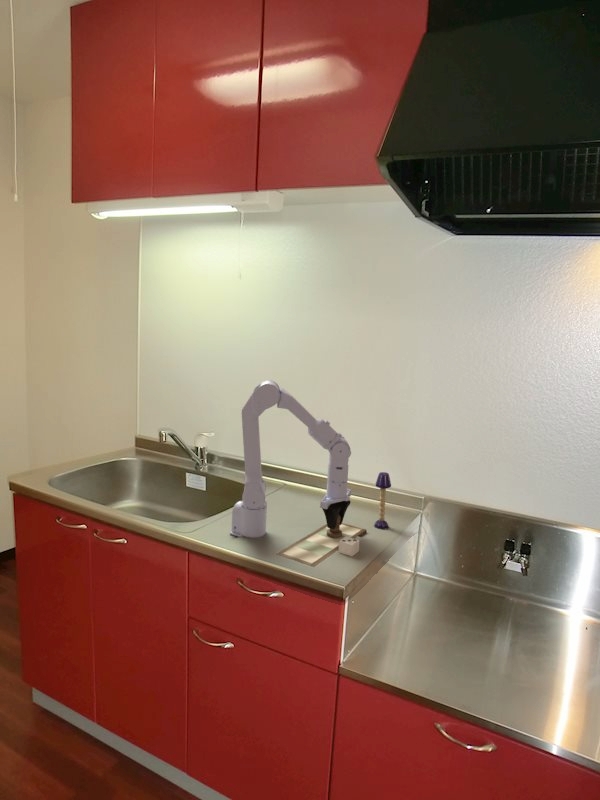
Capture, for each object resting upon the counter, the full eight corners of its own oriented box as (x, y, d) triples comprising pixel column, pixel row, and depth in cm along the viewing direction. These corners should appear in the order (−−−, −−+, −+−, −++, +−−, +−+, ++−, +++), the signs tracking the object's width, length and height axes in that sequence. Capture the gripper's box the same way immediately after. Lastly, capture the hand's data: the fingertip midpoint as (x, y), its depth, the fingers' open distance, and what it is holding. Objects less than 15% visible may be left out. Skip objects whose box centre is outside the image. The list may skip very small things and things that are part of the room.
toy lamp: (370, 526, 158) (374, 473, 156) (375, 521, 162) (379, 470, 160) (385, 530, 156) (389, 476, 154) (390, 525, 160) (394, 472, 158)
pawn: (323, 535, 148) (325, 513, 147) (331, 530, 152) (332, 509, 151) (337, 539, 146) (338, 517, 145) (344, 534, 150) (346, 513, 149)
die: (338, 555, 138) (339, 540, 137) (345, 550, 141) (346, 536, 141) (351, 559, 136) (352, 544, 135) (358, 554, 139) (359, 539, 139)
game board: (276, 556, 135) (276, 553, 135) (332, 522, 160) (332, 520, 160) (313, 569, 129) (313, 566, 129) (366, 532, 154) (366, 529, 154)
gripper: (337, 489, 138) (334, 537, 140) (361, 477, 151) (358, 522, 153) (314, 483, 142) (312, 531, 144) (340, 472, 154) (337, 516, 156)
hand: (334, 526), depth 149 cm, fingers open, 3 cm apart
